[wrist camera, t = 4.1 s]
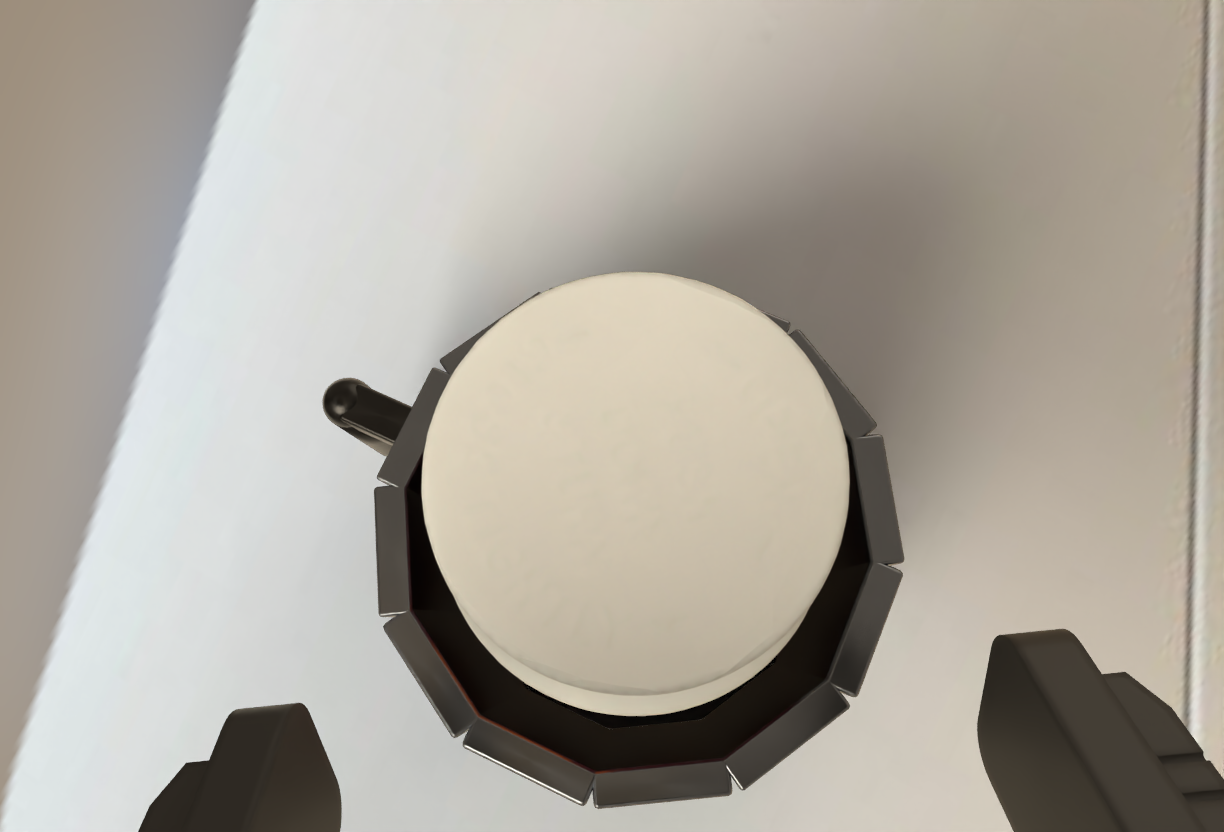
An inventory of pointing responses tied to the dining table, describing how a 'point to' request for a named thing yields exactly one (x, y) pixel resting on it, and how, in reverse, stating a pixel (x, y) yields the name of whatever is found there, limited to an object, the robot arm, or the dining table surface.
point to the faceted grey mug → (574, 745)
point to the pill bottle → (635, 491)
